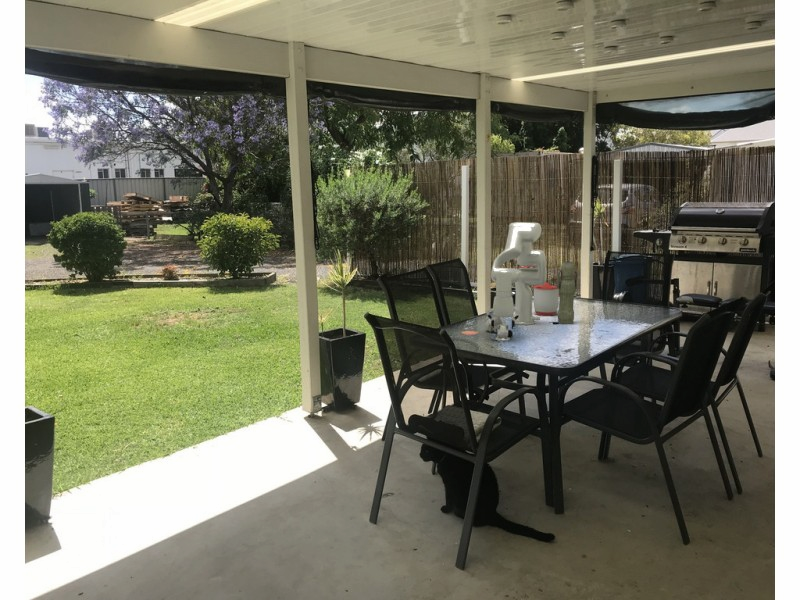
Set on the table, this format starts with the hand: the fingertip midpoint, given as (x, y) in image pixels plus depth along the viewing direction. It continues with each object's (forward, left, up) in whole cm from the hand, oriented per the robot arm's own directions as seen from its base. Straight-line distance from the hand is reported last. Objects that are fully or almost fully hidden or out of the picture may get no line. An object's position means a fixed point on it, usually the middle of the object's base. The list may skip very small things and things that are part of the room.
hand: (502, 328), depth 324 cm
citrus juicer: (-29, -73, -6) cm, 79 cm away
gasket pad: (+17, -14, -6) cm, 23 cm away
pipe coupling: (0, 0, -6) cm, 6 cm away
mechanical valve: (0, -14, -7) cm, 16 cm away
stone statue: (-37, -47, -6) cm, 61 cm away
